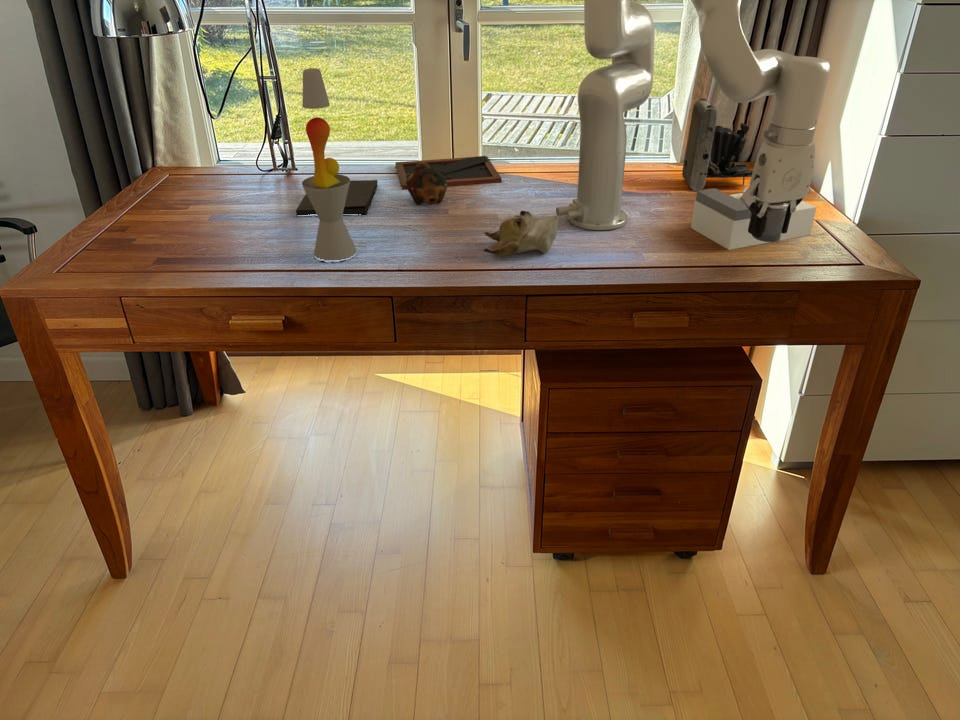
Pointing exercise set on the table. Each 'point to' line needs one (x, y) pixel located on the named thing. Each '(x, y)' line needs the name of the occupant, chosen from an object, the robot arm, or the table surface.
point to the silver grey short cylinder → (773, 221)
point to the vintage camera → (712, 148)
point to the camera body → (740, 219)
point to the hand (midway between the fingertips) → (767, 231)
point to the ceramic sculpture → (523, 234)
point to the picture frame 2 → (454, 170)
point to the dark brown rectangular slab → (348, 198)
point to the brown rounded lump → (426, 185)
